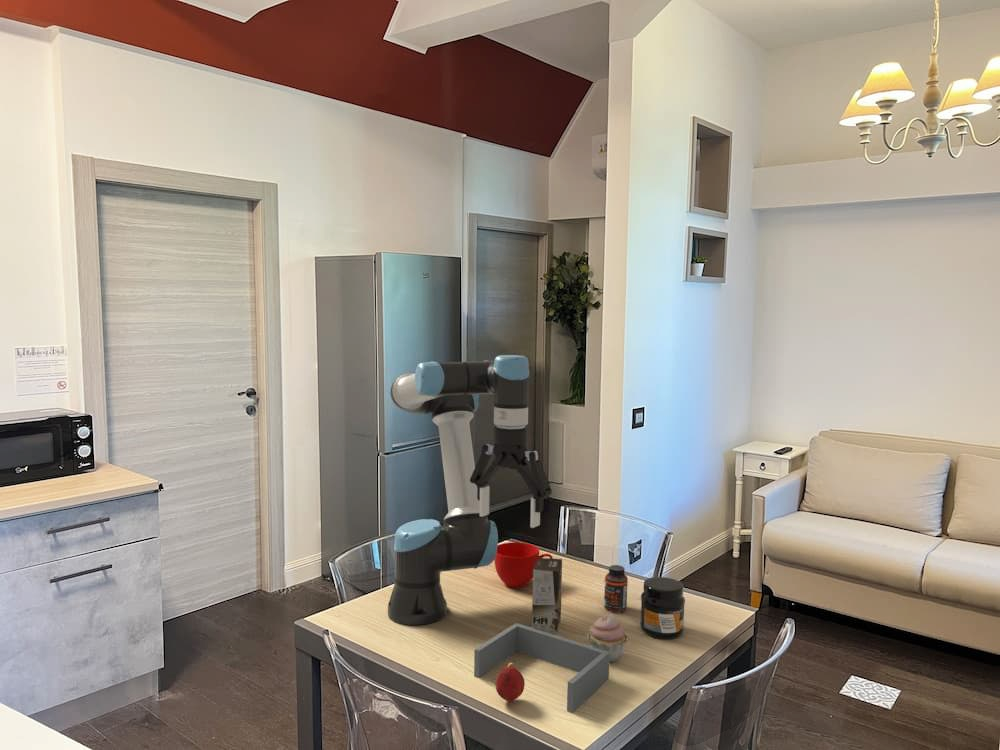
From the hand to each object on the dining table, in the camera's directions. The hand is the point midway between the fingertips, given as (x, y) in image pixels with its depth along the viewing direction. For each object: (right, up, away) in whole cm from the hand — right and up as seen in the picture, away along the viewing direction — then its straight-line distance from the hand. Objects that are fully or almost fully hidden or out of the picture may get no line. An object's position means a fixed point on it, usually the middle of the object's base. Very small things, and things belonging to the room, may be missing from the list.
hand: (509, 520), depth 162 cm
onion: (0, -34, -15) cm, 37 cm away
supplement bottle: (+28, -30, +30) cm, 51 cm away
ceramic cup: (+5, -28, +47) cm, 55 cm away
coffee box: (+10, -30, +19) cm, 37 cm away
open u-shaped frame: (+7, -33, -6) cm, 34 cm away
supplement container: (+38, -31, +18) cm, 52 cm away
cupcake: (+22, -32, +4) cm, 39 cm away
